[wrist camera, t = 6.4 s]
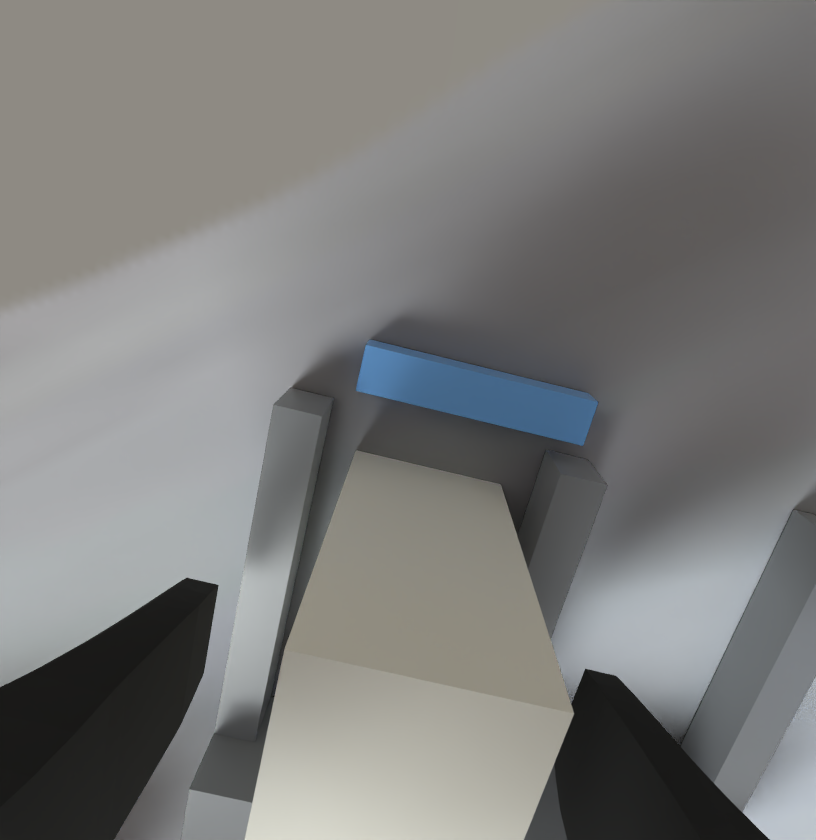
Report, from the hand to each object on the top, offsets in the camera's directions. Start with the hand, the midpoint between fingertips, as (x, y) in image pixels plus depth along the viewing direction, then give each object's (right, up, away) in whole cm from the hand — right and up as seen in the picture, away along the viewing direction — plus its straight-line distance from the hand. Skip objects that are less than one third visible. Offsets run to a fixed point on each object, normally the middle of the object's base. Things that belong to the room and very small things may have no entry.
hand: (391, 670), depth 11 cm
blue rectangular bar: (+2, +5, +2) cm, 6 cm away
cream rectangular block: (0, +1, +3) cm, 4 cm away
